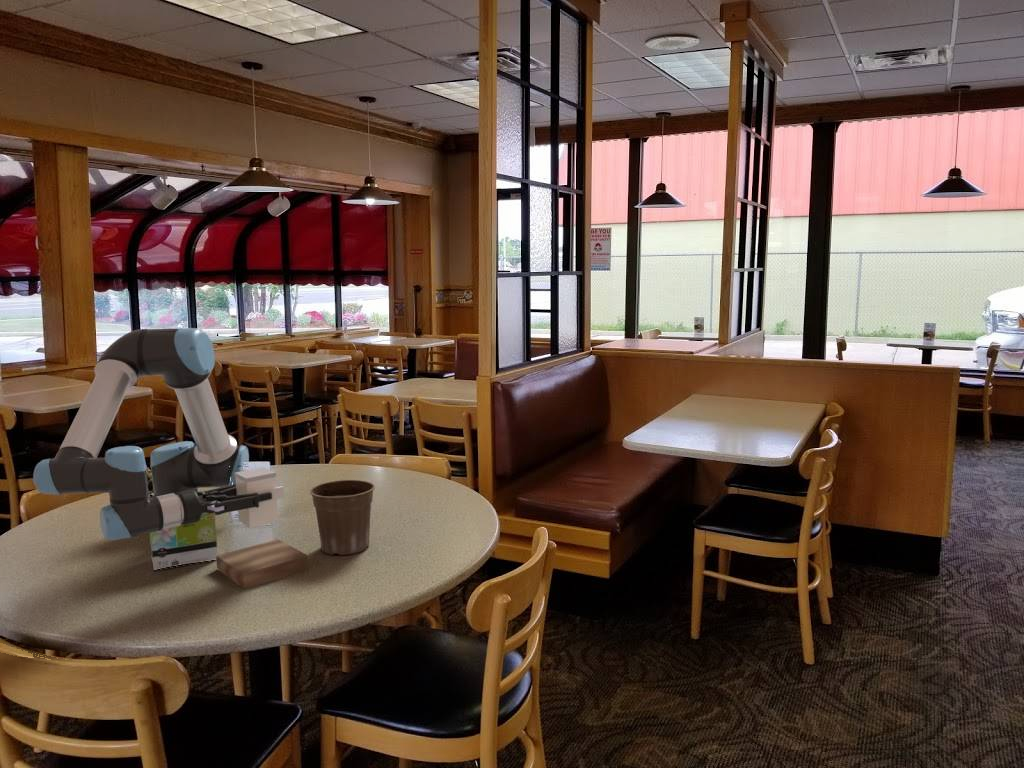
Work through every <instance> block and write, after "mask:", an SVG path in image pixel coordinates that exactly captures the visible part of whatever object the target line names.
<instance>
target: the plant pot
mask: <svg viewBox="0 0 1024 768" xmlns="http://www.w3.org/2000/svg"><path fill="white" fill-rule="evenodd" d="M375 488H376V485H375V484H374V483H373V482H371V481H367V480H361V479H342V480H332V481H326V482H323V483H320V484H317V485H315V486H313V487H311V489H310V491H309V492H310V493H309V494H310V495H311V496H312V501H313V507H314V509H315V512H316V513H315V514H316V519H317V527H318V532H319V540H320V548H321V551H322V552H323V553H325V554H327V555H332V556H333V555H335V554H337V555H339V556H347V555H348V556H349V555H355V554H358V553H361V552H364V551H366V549H367V548H369V546H370V531H371V529H370V527H371V508H372V506H371V505H372V503H373V495H374V490H375Z"/></svg>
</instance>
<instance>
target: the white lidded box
mask: <svg viewBox="0 0 1024 768" xmlns="http://www.w3.org/2000/svg"><path fill="white" fill-rule="evenodd" d="M235 478H236V491H237V495H245V494H253V493H256V491H261V490H266V489H271V488H275V487H277V480H276V478H277V473H276V471H273V470H271V469H268V468H267V467H265V466H262V467H257V468H253V469H252V468H251V469H248V470H246V471H241V472H236V473H235ZM278 505H279V504H278V499H276V500H271V501H267V502H262V503H259V507H258V508H256V507H253V508H248V509H243V510H237V515H238V522H239V523H241V524H243V525H245V526H246V527H247V528H250V529H252V528H256V527H260V526H264V525H265V526H266V525H269V524H273V523H276V522H277V523H278V522H279V521H280V520H279V508H278V507H279V506H278Z"/></svg>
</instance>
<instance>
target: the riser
mask: <svg viewBox="0 0 1024 768" xmlns="http://www.w3.org/2000/svg"><path fill="white" fill-rule="evenodd" d="M217 568H218V569H219V570H220V571H221V572H222V574H223V573H224V574H225V575H224V574H223V575H224V576H226V577H227V576H228V577H229V580H231V579H232V580H231V581H233V582H234V583H236V584H237V585H238V586H239V587H241V588H242V589H249V588H251V587H255V586H258V585H261V584H265V583H269V582H272V581H275V580H278V579H281V578H284V577H287V576H291V575H294V574H298V573H301V572H305V571H308V570H309V557H308V554H306V553H304V552H302V551H301V550H298V549H297V548H296V547H293V546H292V545H289V544H288V543H286V542H284V541H282V540H280V539H279V538H278V539H277V538H276V539H273V540H270V541H267V542H263V543H259V544H255V545H251V546H248V547H244V548H240V549H236V550H233V551H229V552H225V553H221V554H217V556H216V569H217ZM219 570H218V571H219ZM220 571H219V572H220ZM221 572H220V573H221ZM228 577H227V578H228Z"/></svg>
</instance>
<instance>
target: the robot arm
mask: <svg viewBox="0 0 1024 768" xmlns="http://www.w3.org/2000/svg"><path fill="white" fill-rule="evenodd" d="M214 352H215V347H214V345H213V342H212V340H211V337H210V336H209V335H208V334H207V332H205V331H204V330H202V329H201V328H196V327H191V328H190V327H186V326H185V327H180V328H140V329H135V330H132V331H130V332H128V333H125V334H123V335H122V336H120V337H118V338H117V339H116V340H115V341H113V342H112V343H111V344H110V345H109V346H108V347H107V348H106V349H105V350H104V351H103V353H102V354H101V355H100V357H99V358H98V360H97V361H96V364H95V366H94V368H93V369H94V375H95V377H94V379H93V381H92V383H91V385H90V386H89V388H88V390H87V393H86V395H85V396H84V398H83V401H82V403H81V405H80V407H79V409H78V411H77V413H76V415H75V417H74V418H73V421H72V423H71V425H70V427H69V429H68V431H67V433H66V434H65V437H64V439H63V441H62V443H61V445H60V447H59V450H58V451H57V452H56V455H55V457H54V458H52V457H51V458H45V459H42V460H40V462H38V463H37V464H36V465H35V467H34V470H33V475H32V477H33V484H34V486H35V488H36V489H37V491H38V492H39V493H41V494H45V495H59V496H61V495H73V494H74V495H75V494H99V493H102V494H104V493H108V495H109V504H108V505H106V506H103V507H102V508H100V510H99V524H100V529H101V533H102V535H103V536H104V538H105V539H106V540H108V541H111V542H112V541H117V540H124V539H131V538H134V537H138V536H142V535H147V534H149V533H151V532H155V531H160V530H165V531H168V530H169V528H173V527H178V526H180V524H182V525H187V524H192V523H196V522H199V520H200V518H201V515H202V513H206V512H207V513H215V516H220V515H222V514H225V513H230V512H235V511H237V512H238V510H243V509H248V508H253V507H256V508H258V507H259V503H262V502H267V501H271V500H276V499H277V500H279V499H284V498H285V491H284V490H285V489H284V487H285V486H283V485H281V486H276V487H275V488H271V489H266V490H261V491H256V493H253V494H245V495H237V491H236V478H235V473H236V472H241V471H242V469H243V465H244V463H243V462H249V461H250V460H249V459H250V454H249V448H248V447H247V446H246V445H243V444H240V445H238V443H237V440H236V438H235V437H234V436H233V435H230V434H228V431H227V429H226V426H225V423H224V420H223V418H222V415H221V412H220V410H219V405H218V403H217V401H216V398H215V394H214V392H213V389H212V387H211V382H210V380H209V377H210V376H211V373H212V371H213V369H214V368H215V363H216V362H215V361H216V355H215V353H214ZM143 376H161V377H162V380H163V383H164V384H165V385H166V386H167V387H168V388H170V389H173V391H174V392H175V395H176V398H177V400H178V402H179V405H180V408H181V410H182V412H183V415H184V418H185V420H186V423H187V426H188V427H189V430H190V432H191V435H192V438H193V440H194V442H193V441H188V440H185V441H179V442H174V443H168V444H166V445H162V446H160V447H157V448H155V449H154V450H153V451H151V453H150V471H151V473H152V482H153V491H154V494H153V497H149V495H148V482H147V471H146V470H148V469H147V468H148V467H147V464H146V459H145V452H144V450H143V449H142V448H141V447H140V446H136V445H125V446H117V447H113V448H110V449H108V450H107V451H106V452H105V453H104V454H105V455H104V457H98V456H99V454H100V451H101V449H102V447H103V445H104V442H105V440H106V438H107V437H108V436H107V435H108V434H109V431H110V429H111V427H112V426H113V423H114V420H115V418H116V417H117V414H118V412H119V411H120V410H119V409H120V406H121V405H122V403H123V401H124V398H125V396H126V394H127V391H128V389H130V388H131V387H133V386H134V385H135V384H136V383H137V381H138V379H139V378H141V377H143ZM229 466H230V467H229ZM230 477H231V481H230ZM232 482H233V485H232ZM199 488H200V489H201V488H204V489H205V488H212V489H208V490H203V491H199V490H198V489H199Z"/></svg>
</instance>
